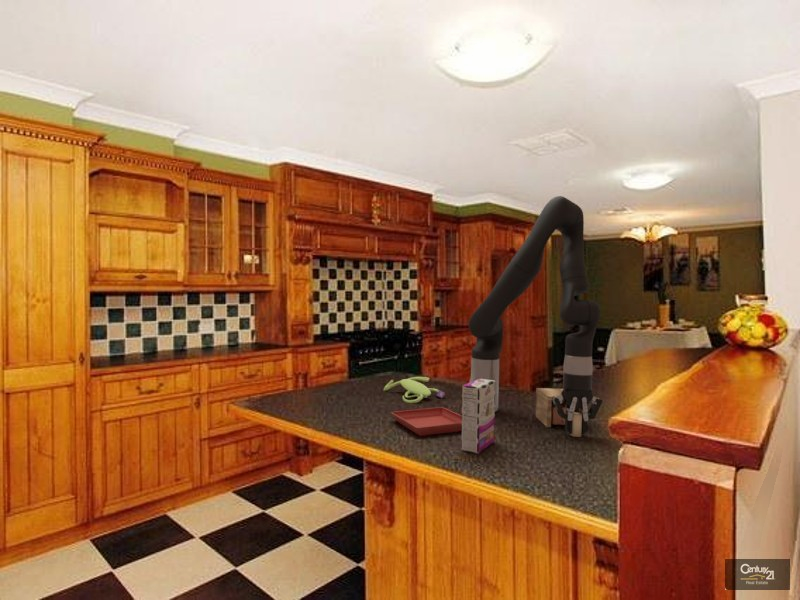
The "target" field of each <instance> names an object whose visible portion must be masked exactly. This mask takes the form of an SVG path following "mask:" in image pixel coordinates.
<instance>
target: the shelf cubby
mask: <svg viewBox="0 0 800 600" xmlns="http://www.w3.org/2000/svg"><path fill="white" fill-rule="evenodd" d="M535 389H536V390H535V415H534V416H535V417H536V418H537V419H538V420H539V421H540V422H541V423H542V424H543V425H544V426H545V427H546V428H551V427H552V423H551V406H552V403H553V400H552V397H553V396H555V397H557V396H559V395H561V393H562V391H563V388H548V387H546V388H545V387H544V388H543V387H540V388H539V387H536V388H535ZM562 403H564V404H566V402H565V401H564V399H562ZM574 412H575V413H580V411H579V408H576V409H575V410H574Z"/></svg>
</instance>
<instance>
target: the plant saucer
mask: <svg viewBox="0 0 800 600" xmlns="http://www.w3.org/2000/svg"><path fill="white" fill-rule="evenodd" d="M391 415H392V416H393V418H394V419H395V420H396V421H397V422H398V423H399V424H400V425H402V426H403V427H405V428H407V429H409V430H410V431H411V432H413V433H414V434H416V435H418V436H420V437H421V436H422V437H423V436H431V435H438V434H439V435H440V434H448V433H456V432H461V430H462V414H459V413H457V412H454V411H452V410H450V409H448V408H446V407H441V406H440V407H429V408H428V407H427V408H418V409H410V410H409V409H407V410H398V411H397V410H396V411H391Z"/></svg>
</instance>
